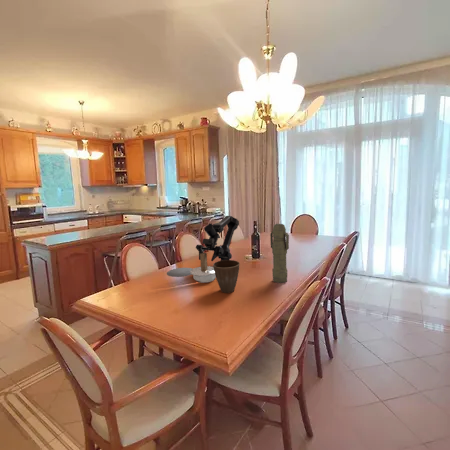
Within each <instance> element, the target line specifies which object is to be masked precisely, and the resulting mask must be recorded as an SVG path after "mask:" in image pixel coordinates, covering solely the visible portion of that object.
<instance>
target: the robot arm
mask: <svg viewBox="0 0 450 450" xmlns="http://www.w3.org/2000/svg"><path fill="white" fill-rule="evenodd" d="M239 224H240V221H239V220H238V218H235V217H234V216H231V215H226V216H224V218H222V219H221V220H220V221H218V222H216V223H208V224H207V225H206V226H204V228H203V229H204V232H205V233H206V235H208V237H209V238H203V239H202V243H201V244H196V246H195V249H196V250H197V251H198V260H199V261H201V260H200V254H201V253H205V251H210V252H212V251H213V253H212V256H211V262H213V261H214V260H215V259H217V258H218V259H220V260H219V261H222V260H232V257H233V256H232V253H231V249H230V245H231V242H232V238H233V237H234V236H233V235H234V232H235V231H236V230H237V229H238V228H239ZM226 226H227V230H226V234H225V236H224V238H223V239H224V240H223V243H222V245H221V244H220V245H218V243H217V242H218V240H219V239H220V238H221V236H220V233H223V231H224V230H225V227H226ZM203 244H204V246H203Z"/></svg>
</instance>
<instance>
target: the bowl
mask: <svg viewBox="0 0 450 450" xmlns="http://www.w3.org/2000/svg"><path fill="white" fill-rule="evenodd" d="M192 276H193V280H195V281H196V282H197V283H202V284H203V283H204V284H206V283H212V282H214V281H215V280H216V276H215V274H214V275H210V276H194V275H192Z"/></svg>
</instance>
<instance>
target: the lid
mask: <svg viewBox="0 0 450 450" xmlns="http://www.w3.org/2000/svg"><path fill="white" fill-rule="evenodd" d="M207 255H208V254H207V252H204V253H201V254H200V260H199V261H200V266H198V267H194V268H193V269H192V270H191V271H190V273H191V274H192V275H191V276H193V275H194V276H210V275H214V274H215V272H214V267H213V266H210V265H209V266H208V256H207Z"/></svg>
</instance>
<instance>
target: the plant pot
mask: <svg viewBox="0 0 450 450" xmlns="http://www.w3.org/2000/svg"><path fill="white" fill-rule="evenodd" d="M212 267H214V272H215V276H216V278H215V280H216V282H217V284H218V287H219V289H220V291H221V293H224V294H229V293H233V292H234V291H235V288H236V286H237V282H238V279H239V278H238V277H239V271H240V262H239V261H238V260H234V259H230V260H222V261H220V260H218V261H215V262H213V264H212Z"/></svg>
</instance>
